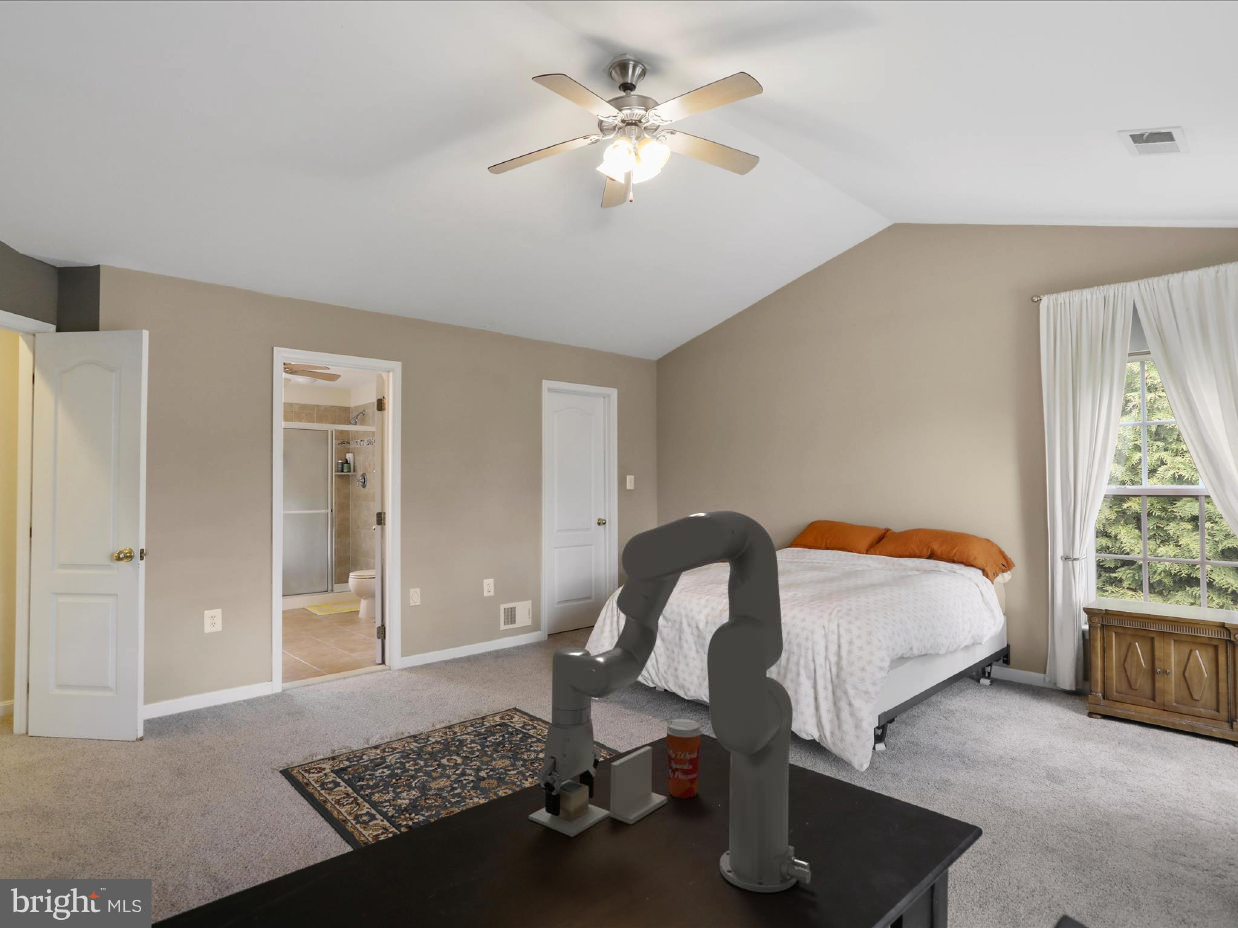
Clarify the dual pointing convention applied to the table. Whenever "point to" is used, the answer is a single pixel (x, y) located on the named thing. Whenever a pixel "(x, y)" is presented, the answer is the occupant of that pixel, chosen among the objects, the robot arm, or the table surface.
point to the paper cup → (683, 756)
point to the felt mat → (568, 827)
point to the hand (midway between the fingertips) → (569, 804)
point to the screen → (633, 787)
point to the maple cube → (573, 800)
